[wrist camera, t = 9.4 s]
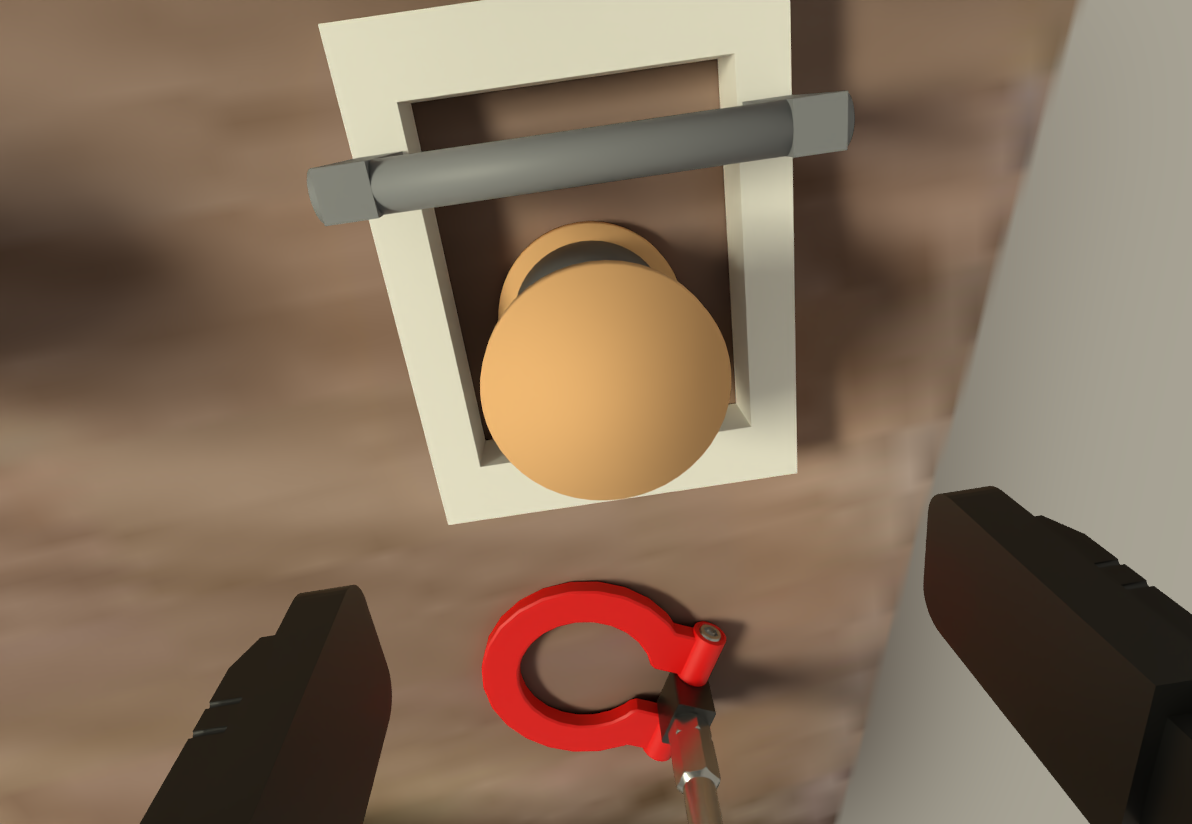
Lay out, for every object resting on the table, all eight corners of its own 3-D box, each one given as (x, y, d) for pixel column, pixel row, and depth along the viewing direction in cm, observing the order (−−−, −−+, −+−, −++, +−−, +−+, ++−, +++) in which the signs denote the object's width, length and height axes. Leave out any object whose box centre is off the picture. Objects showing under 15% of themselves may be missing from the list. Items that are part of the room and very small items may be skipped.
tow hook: (465, 708, 30) (664, 751, 31) (388, 1091, 18) (716, 1137, 19) (514, 552, 27) (732, 606, 28) (460, 888, 15) (844, 957, 16)
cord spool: (671, 208, 22) (723, 246, 15) (686, 383, 24) (737, 481, 18) (483, 236, 22) (455, 286, 15) (517, 409, 24) (506, 516, 18)
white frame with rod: (779, 447, 25) (846, 544, 19) (455, 494, 25) (428, 606, 19) (766, -29, 19) (858, -90, 13) (339, 32, 19) (252, -2, 13)
